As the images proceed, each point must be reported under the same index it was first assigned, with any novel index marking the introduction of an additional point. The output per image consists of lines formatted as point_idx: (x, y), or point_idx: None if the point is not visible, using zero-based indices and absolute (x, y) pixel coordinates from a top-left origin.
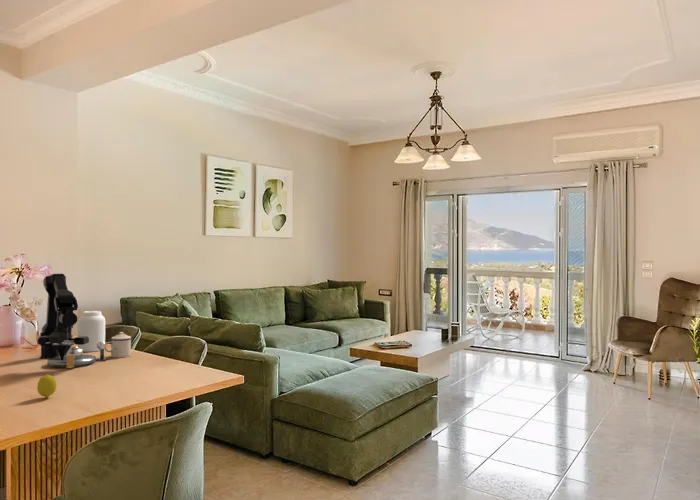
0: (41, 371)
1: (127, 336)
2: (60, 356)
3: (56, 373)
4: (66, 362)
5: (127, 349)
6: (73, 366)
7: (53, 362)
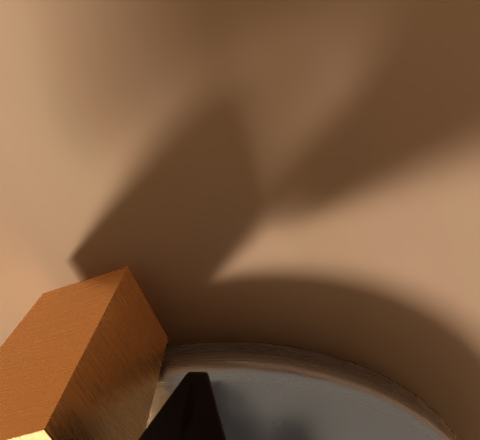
0: (449, 189)
1: None
2: (214, 434)
3: (156, 17)
4: None
5: None
6: (42, 299)
7: (371, 410)
